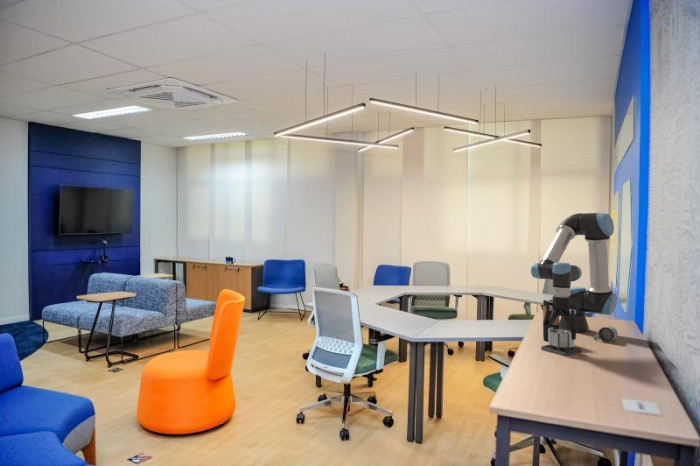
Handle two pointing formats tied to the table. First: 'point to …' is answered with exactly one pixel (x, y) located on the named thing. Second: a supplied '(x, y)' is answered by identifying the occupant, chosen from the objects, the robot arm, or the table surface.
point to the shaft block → (561, 348)
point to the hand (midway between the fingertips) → (560, 343)
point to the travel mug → (556, 323)
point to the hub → (559, 338)
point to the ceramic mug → (606, 334)
